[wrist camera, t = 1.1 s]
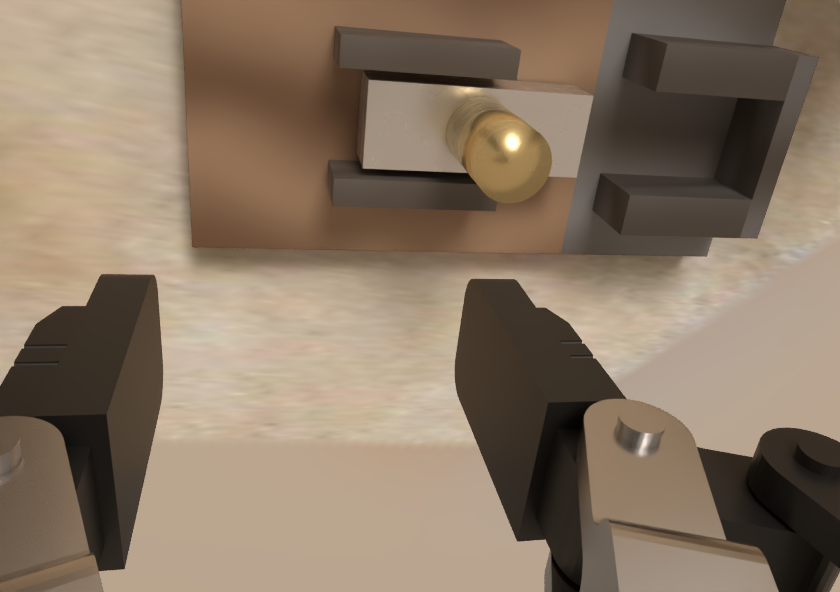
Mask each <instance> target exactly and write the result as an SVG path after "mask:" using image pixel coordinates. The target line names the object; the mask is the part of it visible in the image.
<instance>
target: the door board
mask: <svg viewBox="0 0 840 592" xmlns="http://www.w3.org/2000/svg"><path fill="white" fill-rule="evenodd" d="M785 2H786V0H181V6H182V28H183V50H184V72H185V94H186V117H187V139H188V161H189V183H190V205H191V228H192V247H214V248H268V249H323V250H378V251H432V252H487V253H541V254H596V255H650V256H705V257H707V254H708V251H709V247H710V244H711V241H712V238H713V237H719V238H758V235H759V232H760V229H761V226H762V223H763V220H764V217H765V214H766V211H767V208H768V205H769V202H770V200H771V197H772V194H773V191H774V188H775V185H776V182H777V179H778V176H779V173H780V170H781V167H782V164H783V161H784V158H785V155H786V153H787V150H788V147H789V144H790V141H791V138H792V135H793V132H794V129H795V126H796V123H797V120H798V117H799V114H800V111H801V108H802V106H803V103H804V100H805V97H806V94H807V91H808V88H809V85H810V82H811V79H812V76H813V73H814V70H815V67H816V64H817V61H818V59H819V57H816V56H812V55H808V54H804V53H800V52H795V51H791V50H787V49H783V48H779V47H775V46H772V44H773V41H774V37H775V34H776V31H777V28H778V25H779V21H780V18H781V15H782V12H783V8H784V5H785ZM362 69H364V70H377V71H391V72H404V73H418V74H431V75H445V76H458V77H472V78H486V79H499V80H513V81H530V82H543V83H557V84H570V85H574V86H576V87H578V88H580V89H582V90H583V91H585V92H587V93H589V94H591V95H593V101H592V106H591V111H590V116H589V120H588V125H587V130H586V135H585V140H584V144H583V149H582V154H581V159H580V164H579V168H578V173H577V178H571V177H548V179H547V180H546V182H545V184H544V185H543V187H542V188H541V189H540V190H539V191H538V192H537V193H536V194H534V195H533V196H532V197H530V198H528V199H526V200H524V201H521V202H518V203H501V202H497V201H495V200H493V199H491V198H489V197H488V196H487V195H486V194H485V193H484V192H483V191H482V190H481V189H480V187H479V186H478V185H477V184H476V182H475V181H474V180H473V179H472V178H471V176H470V175H469V174H468V173H456V172H433V171H410V170H387V169H364V168H362V165H361V163H360V160H359V158H358V155H357V153H356V150H357V134H358V118H359V102H360V87H361V71H362Z"/></svg>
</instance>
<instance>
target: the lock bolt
mask: <svg viewBox="0 0 840 592" xmlns="http://www.w3.org/2000/svg"><path fill="white" fill-rule="evenodd" d="M592 101H593V95H591V94H589V93H587V92H585V91H583V90H582V89H580V88H578V87H576V86H574V85H570V84H557V83H543V82H530V81H513V80H499V79H486V78H472V77H458V76H445V75H431V74H418V73H404V72H391V71H377V70H364V69H362V71H361V87H360V102H359V118H358V134H357V150H356V153H357V155H358V158H359V160H360V163H361V165H362V168H364V169H387V170H410V171H433V172H456V173H468V174H469V175H470V176H471V178H472V179H473V180H474V181H475V182H476V184H477V185H478V186H479V187H480V189H481V190H482V191H483V192H484V193H485V194H486V195H487V196H488V197H489V198H491V199H493V200H495V201H497V202H501V203H518V202H521V201H524V200H526V199H528V198H530V197H532V196H533V195H534V194H536V193H537V192H538V191H539V190H540V189H541V188H542V187H543V185H544V184H545V182H546V180H547V179H548V177H571V178H577V173H578V168H579V164H580V159H581V154H582V149H583V144H584V140H585V135H586V130H587V125H588V120H589V116H590V111H591V106H592Z"/></svg>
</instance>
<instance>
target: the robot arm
mask: <svg viewBox="0 0 840 592" xmlns="http://www.w3.org/2000/svg"><path fill="white" fill-rule="evenodd" d="M455 384H456V390H457V394H458V397H459V400H460V402H461V405H462V407H463V410H464V412H465V415H466V417H467V420H468V422H469V425H470V427H471V429H472V432H473V434H474V437H475V439H476V442H477V444H478V447H479V449H480V451H481V454H482V456H483V459H484V461H485V464H486V466H487V468H488V471H489V474H490V476H491V478H492V481H493V483H494V486H495V488H496V491H497V493H498V496H499V498H500V500H501V503H502V505H503V508H504V510H505V513H506V515H507V518H508V520H509V523H510V525H511V527H512V530H513V532H514V535H515V537H516V539H517V541H530V540H544V539H546V541H547V544H548V546H549V548H550V553H549V557H548V561H547V565H546V569H545V577H544V579H545V581H544V584H545V592H830V590H831V588H832V586H833V584H834V582H835V580H836V578H837V576H838V574H839V572H840V442H838V441H836V440H834V439H831V438H829V437H827V436H824V435H821V434H818V433H815V432H811V431H807V430H802V429H797V428H777V429H772V430H770V431H767V432H766V433H765V434H763V436H762V437H761V438H760V441H759V443H758V446H757V448H756V451H755V454H754V456H753V457H748V456H742V455H736V454H731V453H725V452H719V451H714V450H708V449H703V448H699V447H697V446H696V443H695V440H694V438H693V436H692V434H691V432H690V431H689V430H688V428H687V427H685V425H684V424H683V423H682V422H681V421H679V420H678V419H677V418H676V417H674V416H672V415H671V414H669V413H668V412H665V411H664V410H661V409H660V408H657V407H655V406H652V405H650V404H646V403H643V402H639V401H635V400H628V399H626V398H625V396H624V395H623V394H622V392H621V391H620V390H619V388H618V387H617V386H616V384H615V383H614V382H613V381H612V379H611V378H610V377H609V375H608V374H607V373H606V371H605V370H604V369H603V367H602V366H601V365H600V364H599V362H598V361H597V360H596V359H593V354H592V353H591V352H590V350H589V349H588V348H587V346H586V345H585V344H582V340H581V339H580V337H579V336H578V335H577V333H576V332H575V331H574V329H573V328H572V327H571V325H570V324H569V323H568V322H566V321H565V320H563V319H562V318H560V317H559V316H557V315H556V314H554V313H553V312H551V311H550V310H548V309H546V308H536V307H535V306H534V304H533V303H532V301H531V300H530V298H529V297H528V296H527V294H526V293H525V291H524V290H523V289H522V287H521V286H520V284H519V283H518V282H517V281H516V280H515V279H471V280H470V281H469V283H468V285H467V288H466V292H465V298H464V305H463V311H462V318H461V325H460V332H459V339H458V345H457V352H456V359H455ZM162 389H163V360H162V345H161V331H160V316H159V302H158V289H157V282H156V278H155V276H154V275H126V274H102V275H101V276H100V277H99V279H98V282H97V284H96V286H95V288H94V290H93V292H92V294H91V296H90V298H89V301H88V303H87V305H86V306H62V307H60V308H59V309H57V310H56V311H54V312H53V313H51V314H50V315H49V316H47V317H46V318H44V319H43V320H41V321H40V322H38V323H37V324H36V325H35V327H34V329H33V330H32V332H31V334H30V336H29V337H28V339H27V341H26V342H25V344H24V349H21V351H20V353H19V355H18V356H17V358H16V360H15V361H14V366H12V367H11V368H10V370H9V372H8V374H7V375H6V377H5V379H4V381H3V382H2V384H1V386H0V592H104V591H103V587H102V583H101V579H100V575H99V571H104V570H117V569H125V564H126V560H127V554H128V551H129V546H130V541H131V537H132V533H133V528H134V523H135V519H136V514H137V510H138V505H139V501H140V496H141V491H142V487H143V482H144V478H145V474H146V469H147V464H148V460H149V455H150V451H151V446H152V442H153V437H154V433H155V428H156V424H157V419H158V414H159V410H160V405H161V399H162Z"/></svg>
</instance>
